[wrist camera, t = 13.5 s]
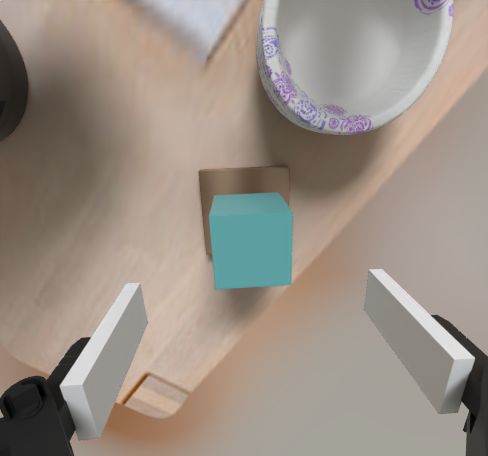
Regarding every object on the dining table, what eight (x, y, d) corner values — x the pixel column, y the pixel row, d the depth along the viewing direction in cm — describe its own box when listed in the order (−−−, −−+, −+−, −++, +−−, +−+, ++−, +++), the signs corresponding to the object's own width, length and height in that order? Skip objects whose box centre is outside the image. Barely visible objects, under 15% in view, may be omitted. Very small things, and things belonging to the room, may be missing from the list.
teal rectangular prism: (218, 253, 30) (215, 289, 24) (214, 195, 28) (209, 216, 21) (278, 250, 30) (291, 285, 24) (278, 192, 28) (292, 212, 22)
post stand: (207, 249, 36) (196, 302, 25) (200, 169, 32) (183, 191, 21) (285, 245, 36) (308, 296, 25) (286, 165, 32) (313, 185, 22)
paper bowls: (428, 1, 28) (501, -46, 20) (359, 152, 32) (397, 159, 25) (285, -68, 26) (307, -149, 18) (233, 105, 30) (233, 97, 23)
